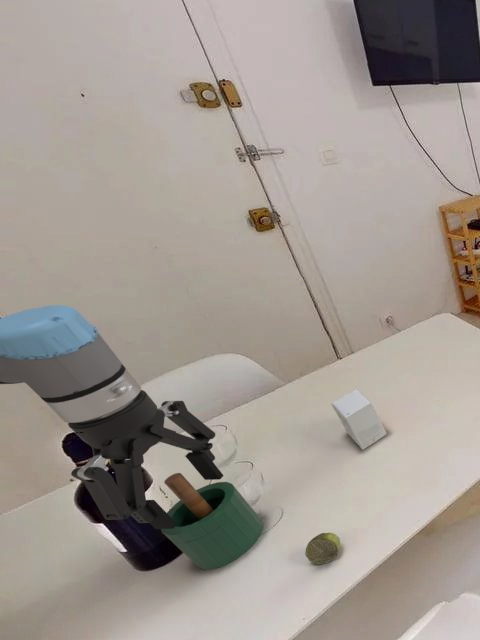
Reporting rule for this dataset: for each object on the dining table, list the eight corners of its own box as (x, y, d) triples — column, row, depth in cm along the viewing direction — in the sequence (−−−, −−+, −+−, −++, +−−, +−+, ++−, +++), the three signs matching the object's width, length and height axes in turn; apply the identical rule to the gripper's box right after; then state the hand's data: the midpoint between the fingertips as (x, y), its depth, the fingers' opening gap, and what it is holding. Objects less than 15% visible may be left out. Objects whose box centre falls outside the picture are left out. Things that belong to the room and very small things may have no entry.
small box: (387, 434, 97) (372, 402, 92) (362, 451, 93) (345, 418, 88) (372, 419, 101) (357, 388, 96) (347, 434, 97) (330, 402, 92)
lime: (347, 552, 74) (336, 537, 71) (316, 575, 71) (303, 559, 68) (340, 536, 77) (329, 520, 74) (309, 556, 73) (297, 541, 71)
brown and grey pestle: (208, 551, 74) (147, 490, 65) (227, 529, 77) (172, 467, 69) (230, 550, 74) (173, 489, 65) (248, 528, 77) (196, 466, 69)
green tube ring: (181, 570, 72) (143, 535, 67) (227, 517, 80) (196, 482, 75) (235, 568, 72) (201, 533, 67) (275, 516, 80) (248, 480, 75)
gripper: (42, 468, 50) (152, 567, 61) (199, 357, 68) (261, 448, 79) (-21, 470, 50) (100, 568, 61) (153, 358, 68) (222, 449, 79)
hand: (191, 500), depth 70 cm, fingers open, 8 cm apart
